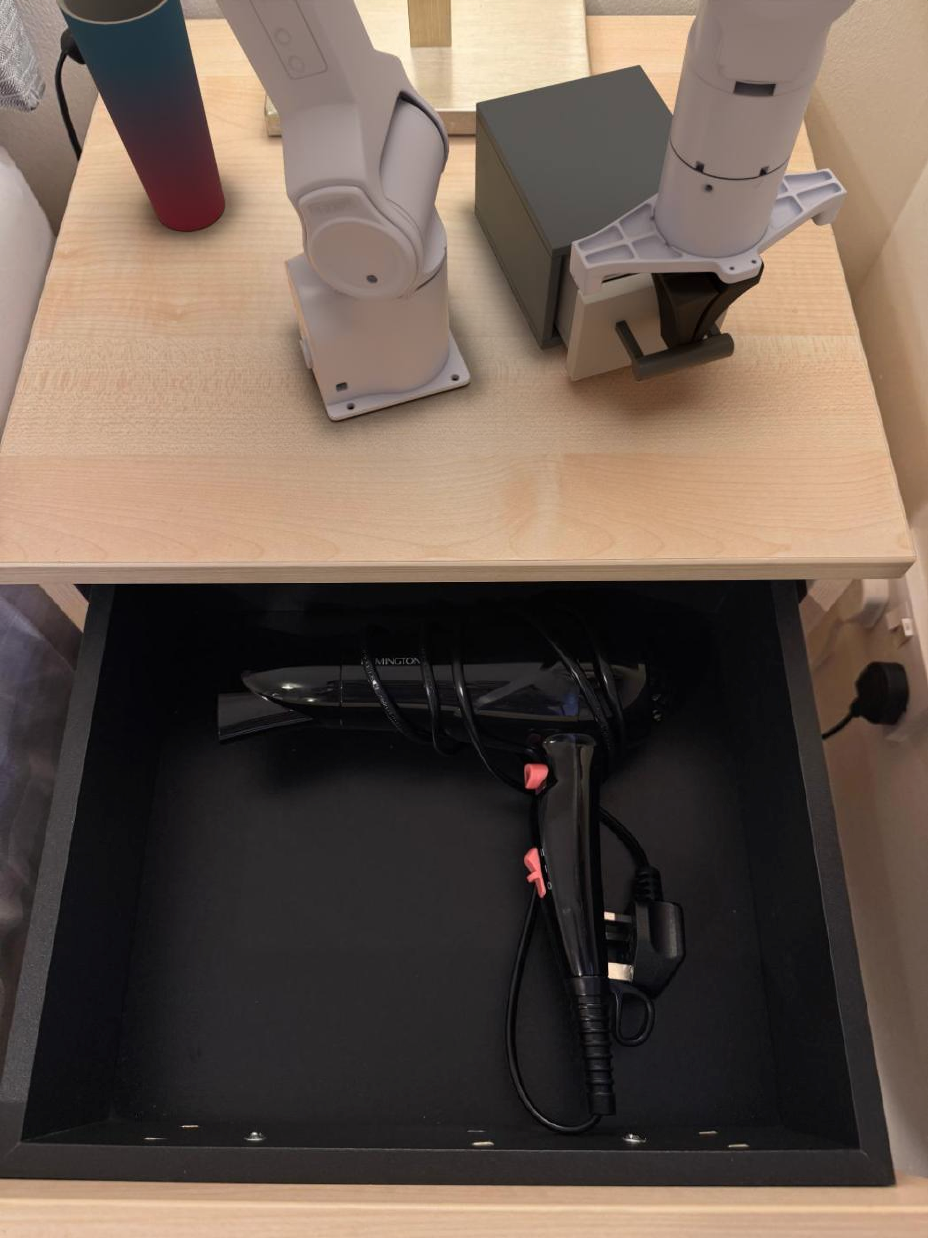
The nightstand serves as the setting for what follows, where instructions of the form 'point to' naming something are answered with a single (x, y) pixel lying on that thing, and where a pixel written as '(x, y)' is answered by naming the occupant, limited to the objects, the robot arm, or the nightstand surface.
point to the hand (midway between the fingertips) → (678, 342)
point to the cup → (152, 101)
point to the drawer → (625, 329)
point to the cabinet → (563, 175)
